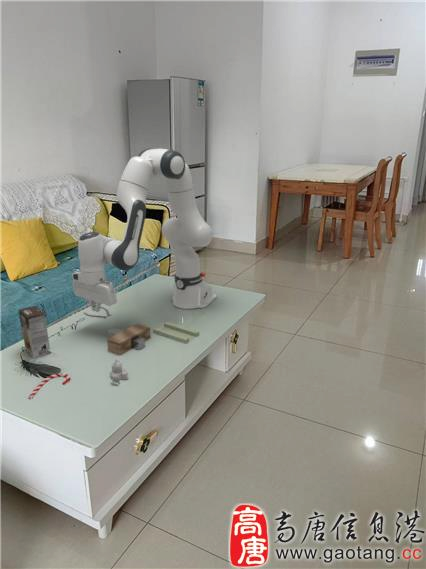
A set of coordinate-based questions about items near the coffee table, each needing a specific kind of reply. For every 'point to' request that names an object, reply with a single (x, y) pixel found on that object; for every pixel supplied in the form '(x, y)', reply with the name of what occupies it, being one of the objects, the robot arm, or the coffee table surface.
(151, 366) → the coffee table surface
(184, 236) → the robot arm
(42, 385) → the candy cane
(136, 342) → the shaft
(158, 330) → the cradle
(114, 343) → the beam
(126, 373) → the grey lumpy blob
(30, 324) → the coffee box
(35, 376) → the coffee table surface
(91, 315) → the pliers
